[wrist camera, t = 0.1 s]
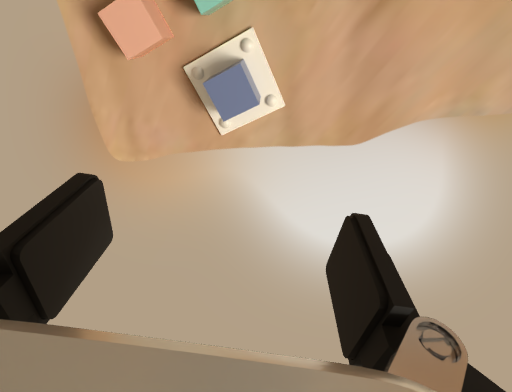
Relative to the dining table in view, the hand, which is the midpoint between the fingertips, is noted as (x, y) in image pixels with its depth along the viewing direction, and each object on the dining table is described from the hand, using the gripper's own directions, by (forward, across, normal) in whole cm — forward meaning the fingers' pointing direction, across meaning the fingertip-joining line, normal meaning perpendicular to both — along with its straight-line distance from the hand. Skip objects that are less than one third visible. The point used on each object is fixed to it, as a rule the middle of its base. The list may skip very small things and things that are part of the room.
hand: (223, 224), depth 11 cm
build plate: (+37, +4, +2) cm, 37 cm away
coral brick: (+37, +18, -4) cm, 41 cm away
